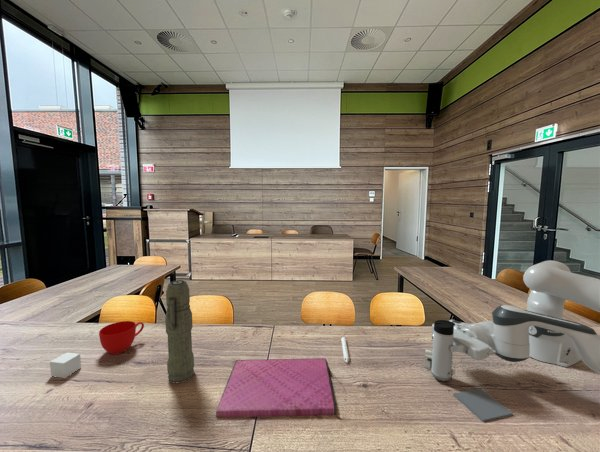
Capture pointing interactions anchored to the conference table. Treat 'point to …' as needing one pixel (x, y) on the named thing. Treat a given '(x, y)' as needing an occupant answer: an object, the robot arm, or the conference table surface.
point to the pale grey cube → (65, 365)
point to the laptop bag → (278, 389)
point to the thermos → (179, 332)
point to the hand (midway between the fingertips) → (441, 343)
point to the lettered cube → (428, 359)
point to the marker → (345, 350)
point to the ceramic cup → (118, 336)
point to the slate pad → (482, 404)
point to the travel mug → (442, 349)
